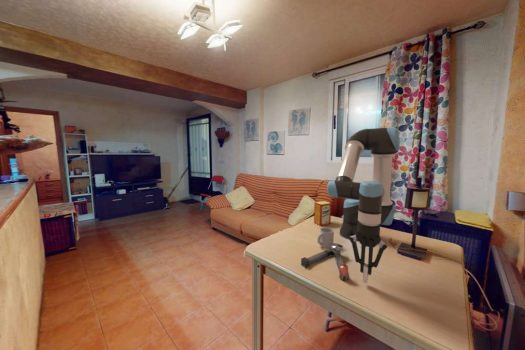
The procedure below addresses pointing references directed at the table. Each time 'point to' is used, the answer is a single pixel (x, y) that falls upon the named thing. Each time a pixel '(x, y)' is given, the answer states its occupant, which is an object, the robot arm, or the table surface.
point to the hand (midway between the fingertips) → (365, 280)
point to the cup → (326, 237)
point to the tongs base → (317, 257)
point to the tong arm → (340, 261)
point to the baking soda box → (322, 213)
